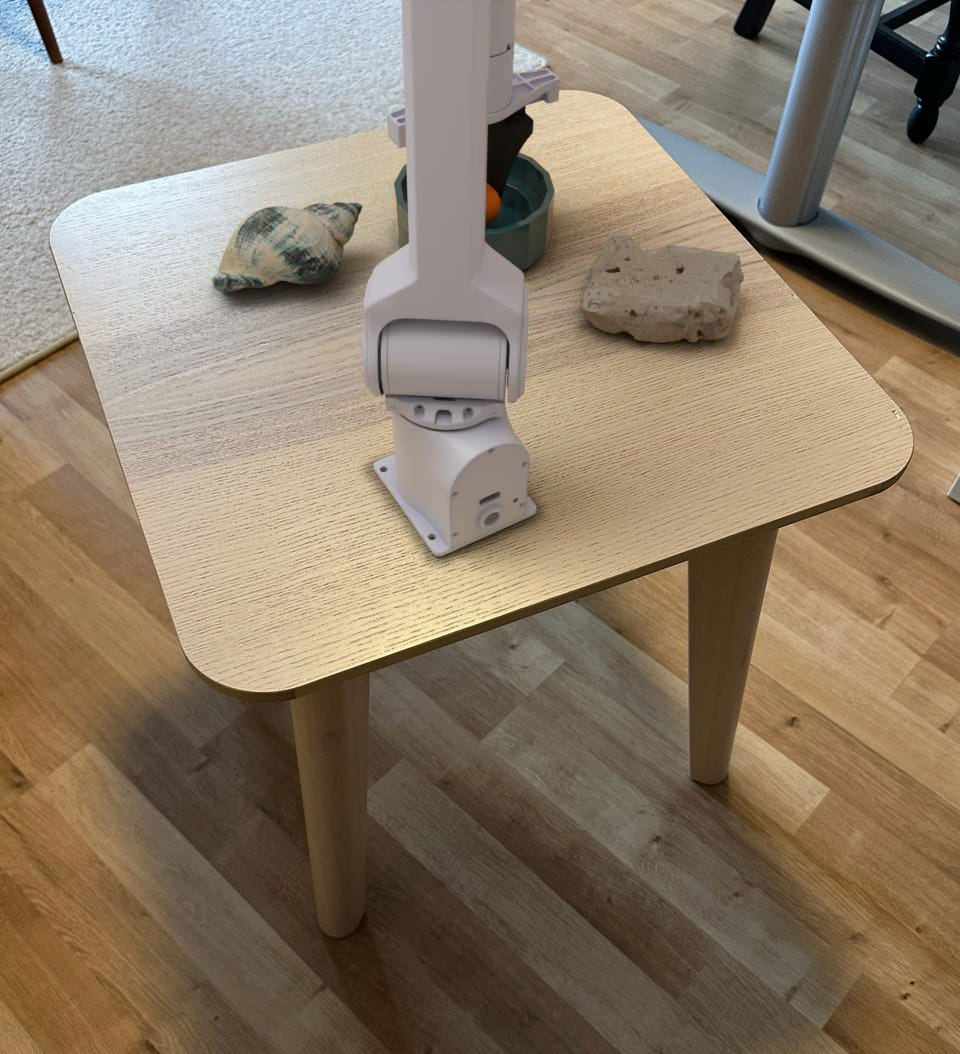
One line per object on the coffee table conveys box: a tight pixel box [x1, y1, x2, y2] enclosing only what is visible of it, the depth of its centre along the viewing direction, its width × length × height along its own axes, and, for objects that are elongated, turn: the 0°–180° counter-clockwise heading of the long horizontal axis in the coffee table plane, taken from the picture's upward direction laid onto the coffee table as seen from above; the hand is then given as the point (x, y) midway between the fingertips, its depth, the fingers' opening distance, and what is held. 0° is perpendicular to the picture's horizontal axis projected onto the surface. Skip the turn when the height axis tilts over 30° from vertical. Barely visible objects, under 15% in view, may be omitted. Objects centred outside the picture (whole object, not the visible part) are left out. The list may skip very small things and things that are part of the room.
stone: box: [578, 233, 745, 343], centre depth 86 cm, size 13×6×10 cm
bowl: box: [393, 151, 556, 271], centre depth 92 cm, size 13×13×5 cm
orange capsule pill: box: [485, 182, 501, 224], centre depth 91 cm, size 6×3×3 cm, turn 30°
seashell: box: [211, 201, 363, 294], centre depth 88 cm, size 6×8×12 cm
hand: (474, 198), depth 91 cm, fingers closed on orange capsule pill, 3 cm apart
